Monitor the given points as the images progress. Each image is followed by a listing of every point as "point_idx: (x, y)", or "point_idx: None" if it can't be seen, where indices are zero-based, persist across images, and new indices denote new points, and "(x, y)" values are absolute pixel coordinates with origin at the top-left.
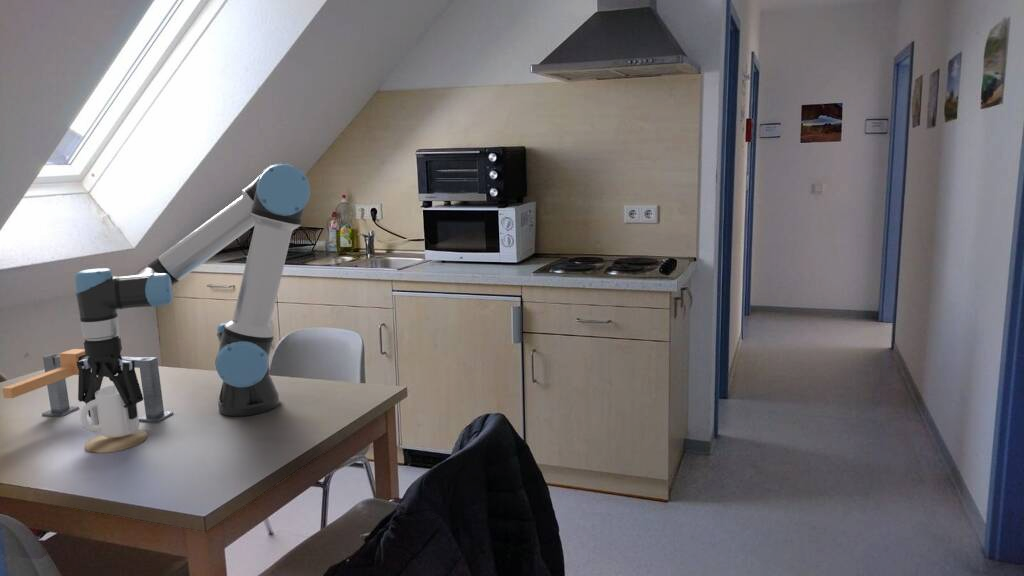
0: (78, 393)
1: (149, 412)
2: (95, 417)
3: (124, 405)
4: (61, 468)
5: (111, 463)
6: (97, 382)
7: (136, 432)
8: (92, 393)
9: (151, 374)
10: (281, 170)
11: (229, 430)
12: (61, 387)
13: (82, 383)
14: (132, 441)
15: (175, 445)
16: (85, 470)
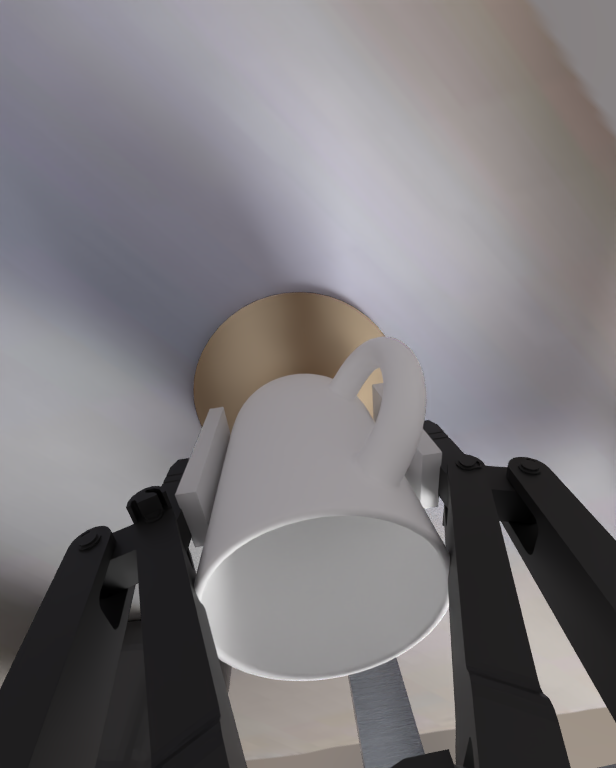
0: (573, 497)
1: None
2: None
3: (212, 511)
4: (279, 98)
5: (108, 223)
6: (457, 645)
7: None
8: (452, 525)
9: (363, 759)
10: None
11: (22, 563)
12: None
13: (606, 591)
14: (221, 404)
15: (56, 435)
16: (141, 112)
